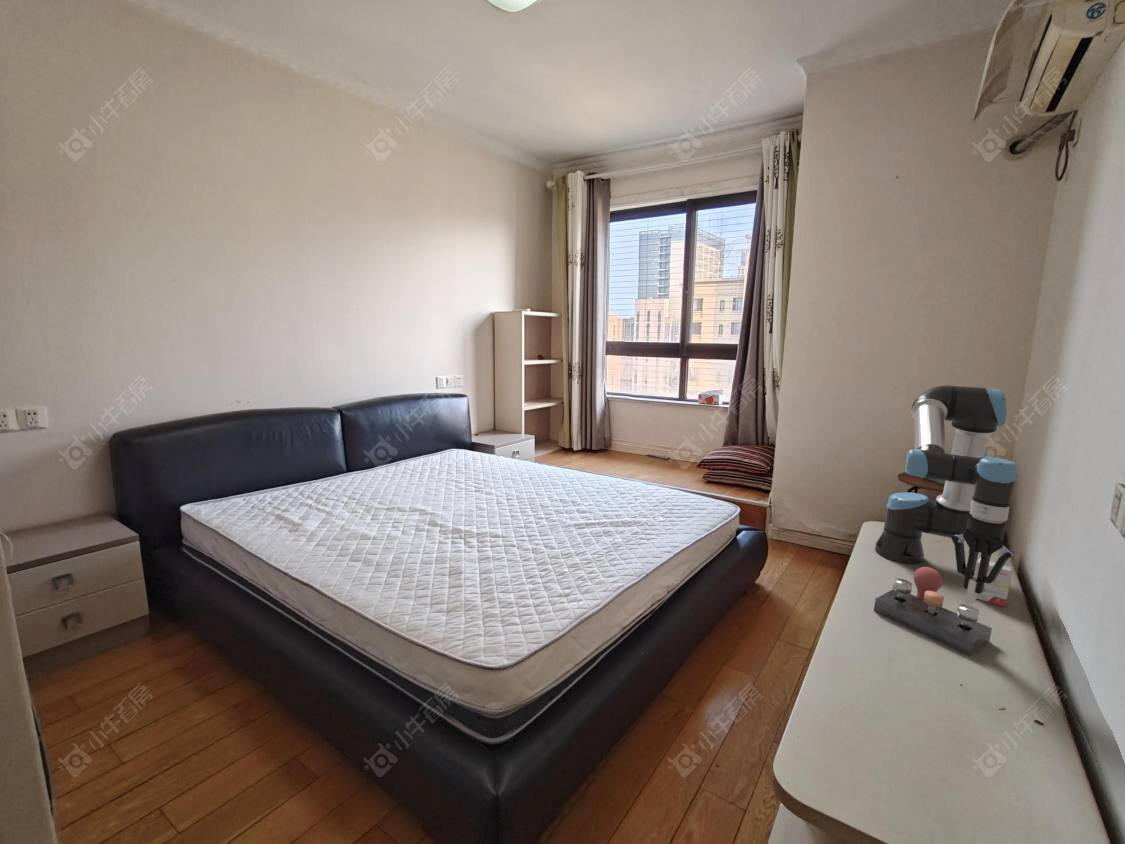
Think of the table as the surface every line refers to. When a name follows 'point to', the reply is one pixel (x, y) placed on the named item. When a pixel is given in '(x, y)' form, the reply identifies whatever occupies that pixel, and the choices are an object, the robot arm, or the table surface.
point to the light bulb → (926, 581)
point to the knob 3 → (967, 615)
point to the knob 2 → (933, 601)
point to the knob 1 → (902, 588)
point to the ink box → (996, 585)
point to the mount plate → (933, 622)
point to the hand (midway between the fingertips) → (970, 602)
